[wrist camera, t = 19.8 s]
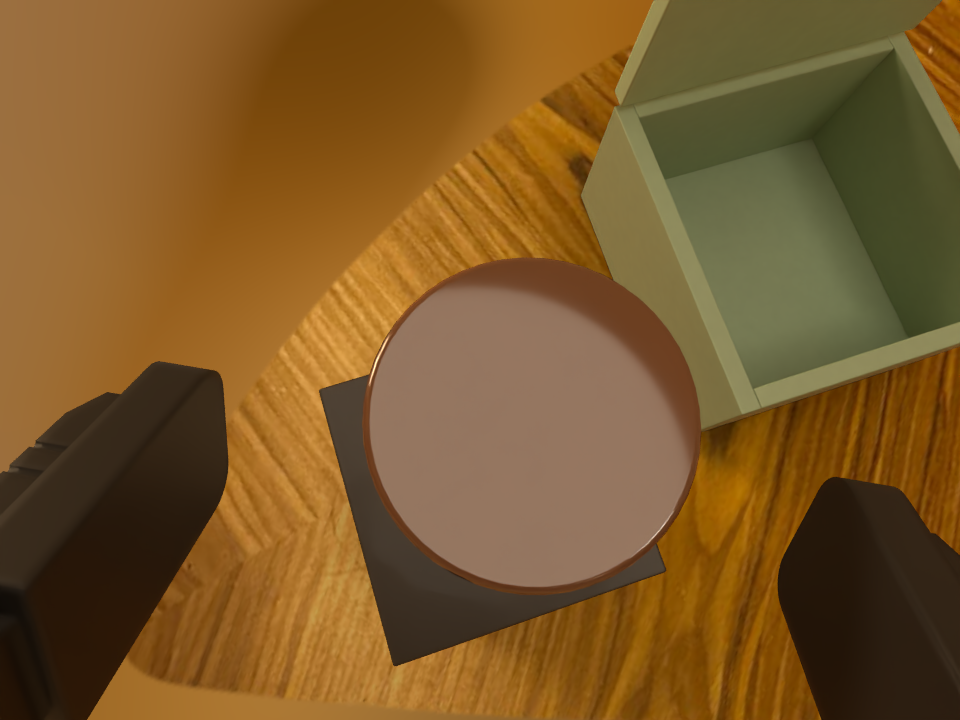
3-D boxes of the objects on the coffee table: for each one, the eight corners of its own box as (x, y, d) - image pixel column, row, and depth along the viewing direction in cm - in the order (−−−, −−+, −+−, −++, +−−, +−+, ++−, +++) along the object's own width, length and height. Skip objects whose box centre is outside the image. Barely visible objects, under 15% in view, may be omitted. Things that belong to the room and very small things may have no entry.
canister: (440, 574, 16) (417, 647, 7) (397, 430, 17) (322, 306, 7) (581, 527, 17) (758, 529, 7) (534, 388, 18) (631, 217, 8)
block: (423, 599, 30) (393, 667, 16) (380, 451, 32) (318, 389, 17) (568, 550, 31) (667, 571, 17) (519, 407, 33) (572, 312, 18)
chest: (922, 359, 34) (1056, 311, 26) (675, 440, 32) (742, 415, 25) (811, 130, 37) (903, 29, 29) (580, 195, 35) (614, 106, 28)
